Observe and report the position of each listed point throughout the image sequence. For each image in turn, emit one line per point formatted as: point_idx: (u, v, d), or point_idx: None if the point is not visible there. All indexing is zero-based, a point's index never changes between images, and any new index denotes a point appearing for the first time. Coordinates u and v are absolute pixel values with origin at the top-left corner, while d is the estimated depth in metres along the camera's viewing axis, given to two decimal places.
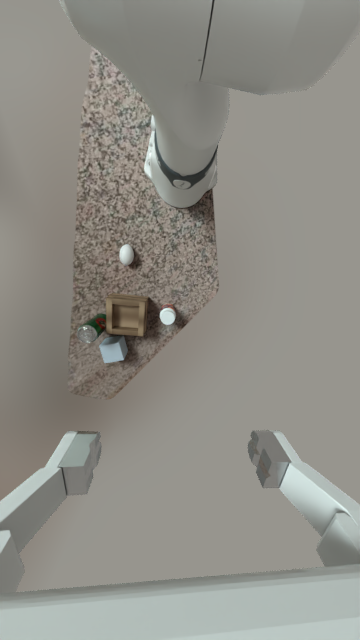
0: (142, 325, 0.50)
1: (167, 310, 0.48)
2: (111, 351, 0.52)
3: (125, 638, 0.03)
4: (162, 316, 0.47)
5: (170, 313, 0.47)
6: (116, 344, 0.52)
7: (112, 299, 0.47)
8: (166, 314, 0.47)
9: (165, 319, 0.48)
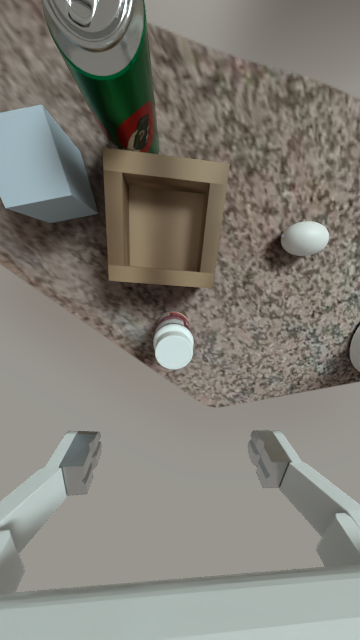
0: (143, 280, 0.17)
1: None
2: (28, 160, 0.14)
3: (125, 638, 0.03)
4: (178, 339, 0.17)
5: (187, 359, 0.18)
6: (62, 185, 0.15)
7: (223, 187, 0.15)
8: (184, 349, 0.18)
9: (170, 347, 0.18)
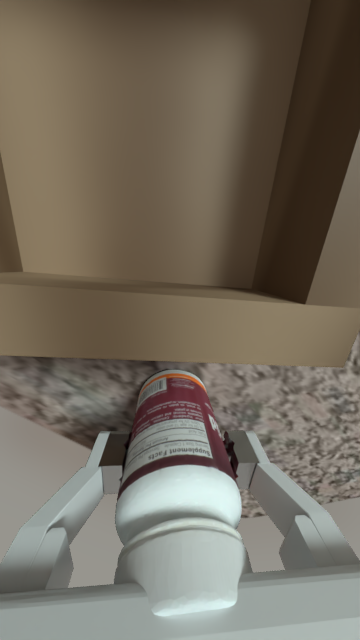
0: (36, 342, 0.04)
1: None
2: None
3: (125, 638, 0.03)
4: None
5: None
6: None
7: None
8: None
9: None
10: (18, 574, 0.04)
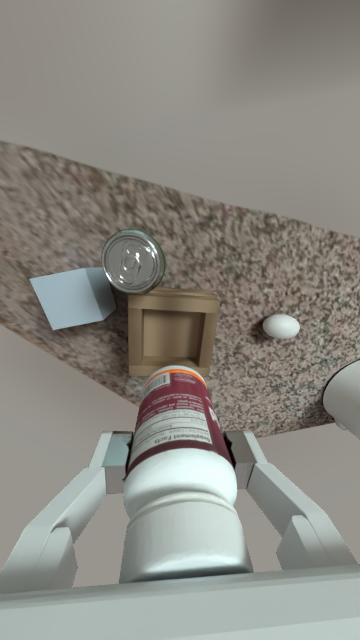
0: None
1: None
2: (72, 300, 0.19)
3: (125, 638, 0.03)
4: (207, 566, 0.04)
5: None
6: (96, 314, 0.20)
7: (215, 314, 0.20)
8: None
9: None
10: (23, 574, 0.04)
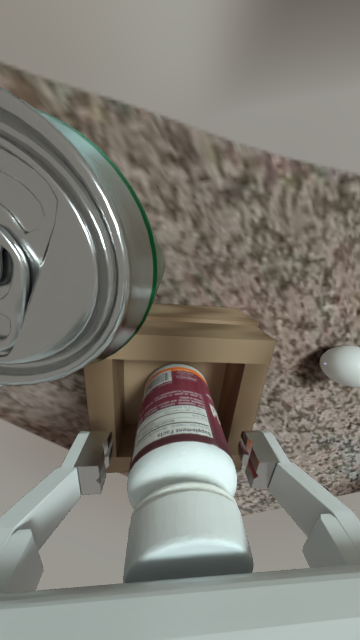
0: None
1: None
2: None
3: (125, 638, 0.03)
4: (209, 550, 0.05)
5: None
6: None
7: (264, 366, 0.10)
8: (225, 568, 0.05)
9: (177, 569, 0.05)
10: None
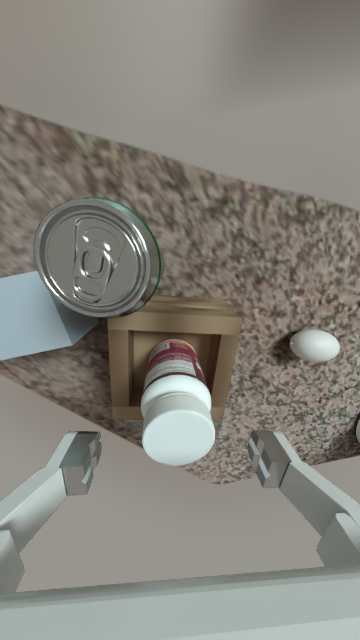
0: None
1: None
2: (25, 318, 0.13)
3: (125, 638, 0.03)
4: (188, 418, 0.09)
5: (203, 449, 0.09)
6: (62, 338, 0.14)
7: (235, 337, 0.14)
8: (199, 433, 0.09)
9: (172, 431, 0.09)
10: None
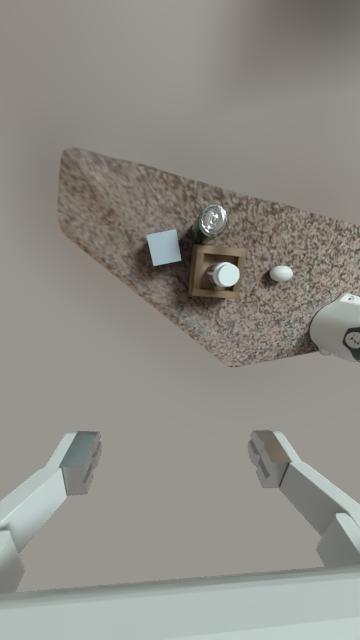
0: (207, 295, 0.38)
1: None
2: (166, 248, 0.35)
3: (125, 638, 0.03)
4: (232, 267, 0.31)
5: (235, 279, 0.31)
6: (178, 257, 0.36)
7: (244, 257, 0.36)
8: (234, 273, 0.31)
9: (227, 271, 0.31)
10: None
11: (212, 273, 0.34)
